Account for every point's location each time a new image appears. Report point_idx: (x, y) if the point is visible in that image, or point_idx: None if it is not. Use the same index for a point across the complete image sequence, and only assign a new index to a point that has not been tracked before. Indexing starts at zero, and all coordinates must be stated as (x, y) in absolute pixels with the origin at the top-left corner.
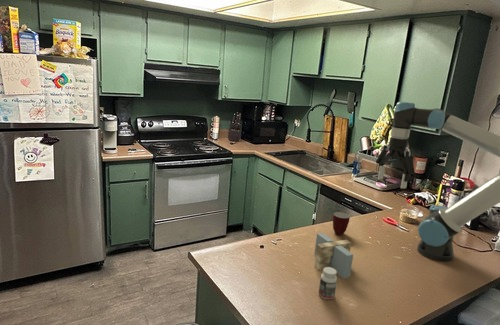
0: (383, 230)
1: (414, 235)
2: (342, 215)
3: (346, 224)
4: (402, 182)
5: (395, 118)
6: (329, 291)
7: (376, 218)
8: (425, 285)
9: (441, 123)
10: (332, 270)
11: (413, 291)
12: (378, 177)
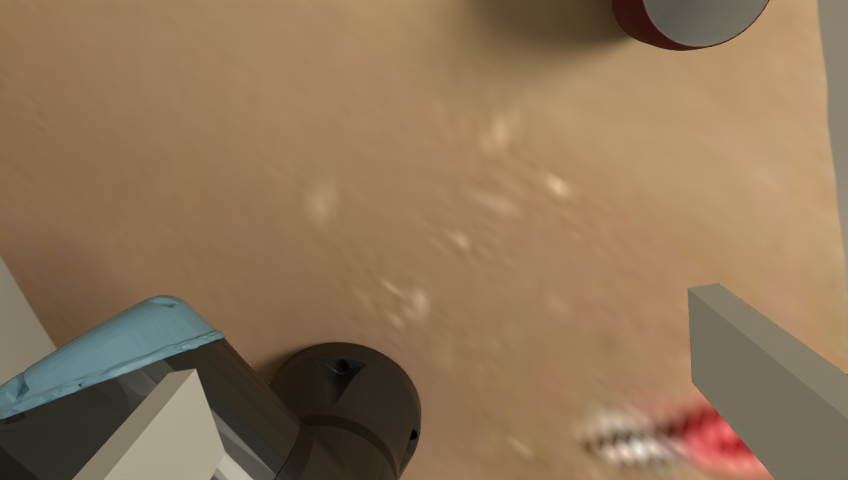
0: (623, 323)
1: (535, 448)
2: (740, 21)
3: (623, 6)
4: (117, 439)
5: None
6: None
7: None
8: (64, 161)
9: None
10: None
11: (9, 64)
12: (718, 300)
